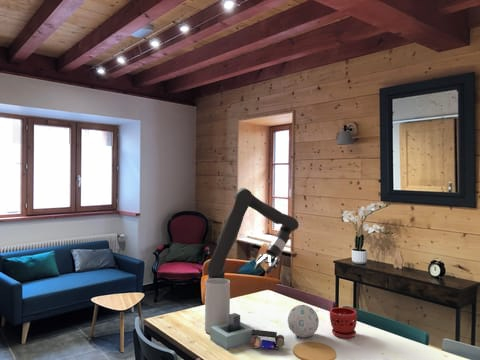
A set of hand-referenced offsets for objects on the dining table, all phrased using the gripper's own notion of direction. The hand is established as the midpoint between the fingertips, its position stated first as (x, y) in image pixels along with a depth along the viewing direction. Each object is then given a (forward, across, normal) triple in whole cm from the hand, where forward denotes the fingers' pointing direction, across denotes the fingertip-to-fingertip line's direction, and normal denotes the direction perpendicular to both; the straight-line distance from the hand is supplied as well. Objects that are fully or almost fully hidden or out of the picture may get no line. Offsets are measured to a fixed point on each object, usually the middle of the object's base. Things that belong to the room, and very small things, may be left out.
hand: (260, 271), depth 199 cm
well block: (+37, +5, +4) cm, 37 cm away
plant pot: (+3, +34, +38) cm, 51 cm away
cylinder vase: (+35, -10, +6) cm, 37 cm away
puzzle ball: (+15, +23, +26) cm, 37 cm away
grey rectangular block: (+35, +5, +4) cm, 36 cm away
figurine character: (+32, +21, +9) cm, 39 cm away
